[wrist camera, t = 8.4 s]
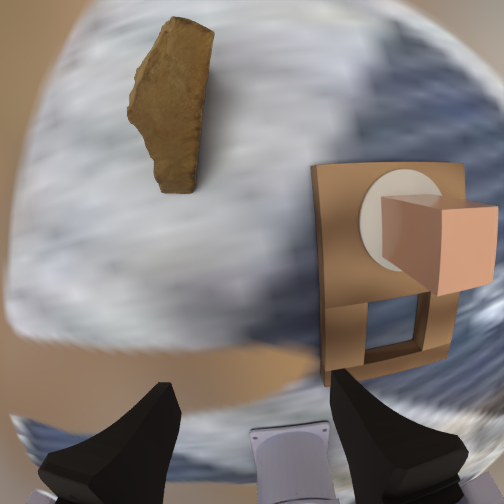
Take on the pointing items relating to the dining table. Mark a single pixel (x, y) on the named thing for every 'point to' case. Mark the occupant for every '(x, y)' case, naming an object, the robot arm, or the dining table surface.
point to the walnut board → (372, 275)
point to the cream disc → (371, 206)
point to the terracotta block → (440, 240)
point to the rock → (173, 101)
